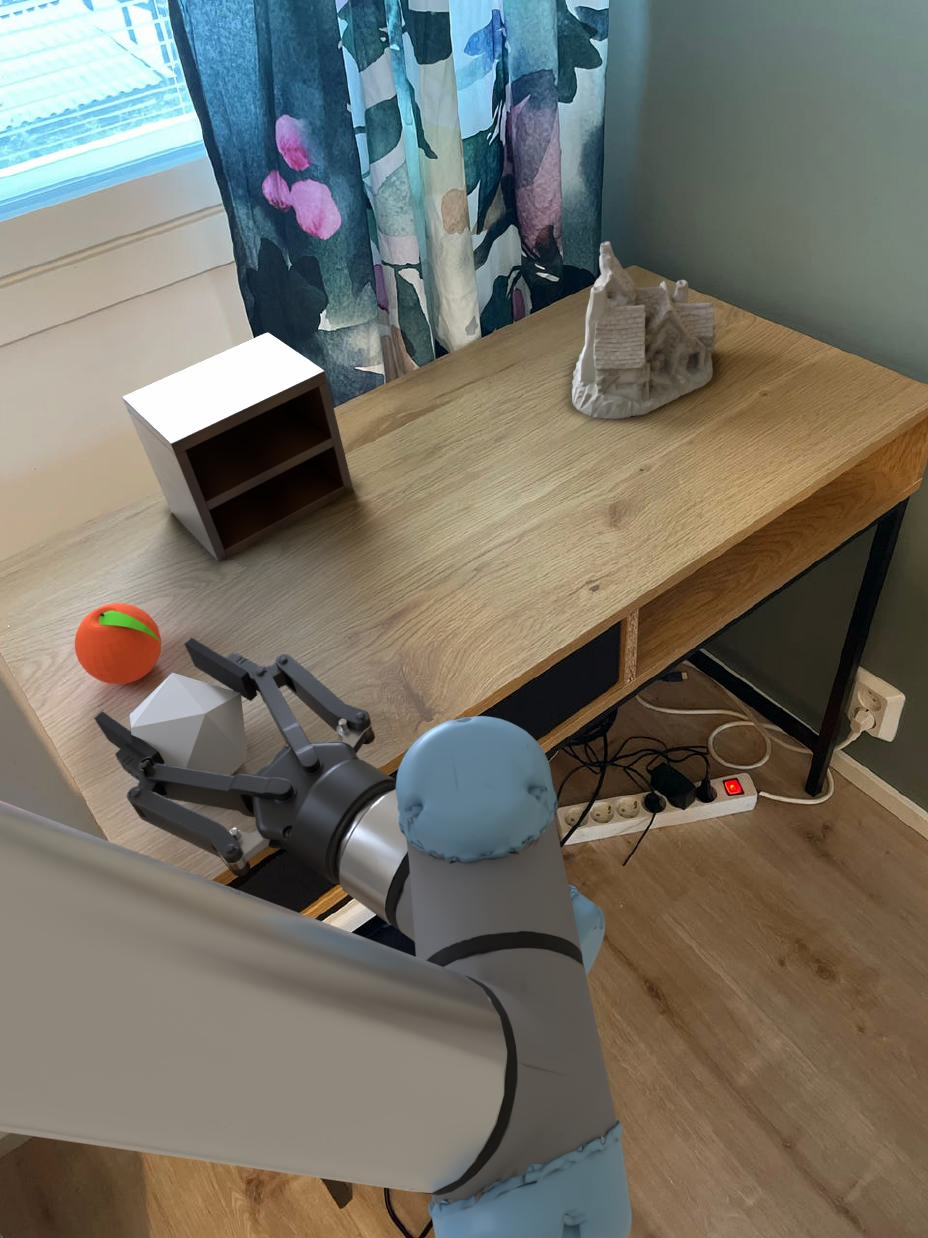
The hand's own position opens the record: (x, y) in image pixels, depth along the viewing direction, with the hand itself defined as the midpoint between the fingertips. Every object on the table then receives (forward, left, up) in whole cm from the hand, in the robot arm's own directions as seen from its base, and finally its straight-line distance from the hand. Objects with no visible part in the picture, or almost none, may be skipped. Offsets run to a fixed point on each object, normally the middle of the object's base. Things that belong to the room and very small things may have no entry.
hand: (150, 688), depth 68 cm
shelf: (+16, +26, -7) cm, 32 cm away
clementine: (-1, +10, -7) cm, 12 cm away
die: (+1, -4, -6) cm, 8 cm away
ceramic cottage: (+61, +21, -7) cm, 65 cm away
